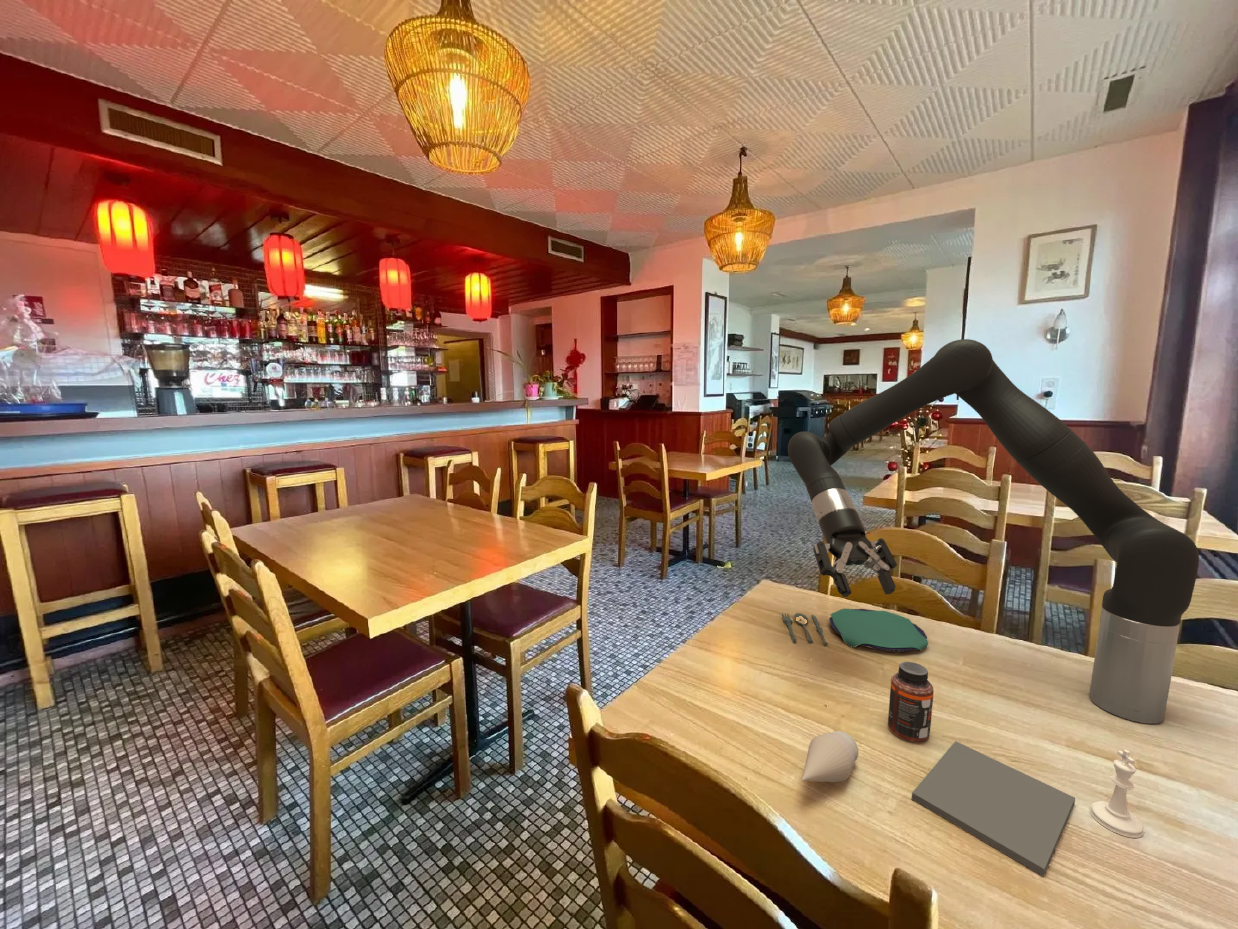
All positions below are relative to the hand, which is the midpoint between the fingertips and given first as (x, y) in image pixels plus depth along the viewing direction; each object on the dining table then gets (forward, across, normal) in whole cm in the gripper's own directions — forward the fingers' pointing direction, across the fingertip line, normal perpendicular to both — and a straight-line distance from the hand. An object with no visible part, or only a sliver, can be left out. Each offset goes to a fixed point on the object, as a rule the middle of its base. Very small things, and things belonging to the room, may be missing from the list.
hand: (869, 594), depth 89 cm
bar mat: (+32, +2, -5) cm, 32 cm away
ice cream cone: (+27, -19, 0) cm, 33 cm away
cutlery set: (-1, +12, +28) cm, 31 cm away
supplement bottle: (+22, 0, +5) cm, 22 cm away
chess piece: (+35, +14, -9) cm, 39 cm away
